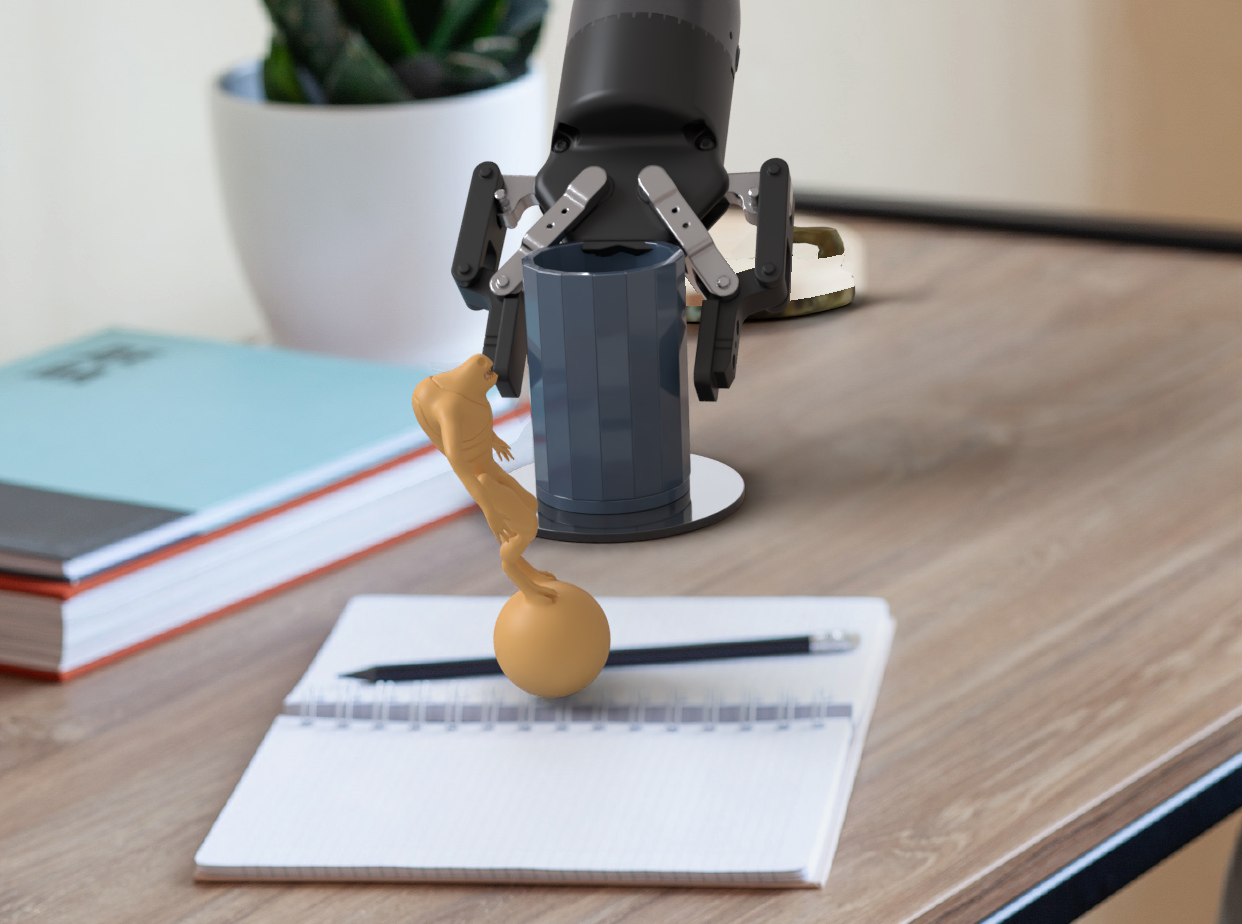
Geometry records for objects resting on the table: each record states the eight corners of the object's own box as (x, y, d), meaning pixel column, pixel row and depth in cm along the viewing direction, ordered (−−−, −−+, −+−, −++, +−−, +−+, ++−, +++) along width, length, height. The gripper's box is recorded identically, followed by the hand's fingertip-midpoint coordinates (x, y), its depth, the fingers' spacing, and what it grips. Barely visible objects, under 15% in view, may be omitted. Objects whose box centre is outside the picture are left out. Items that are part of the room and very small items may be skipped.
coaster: (771, 463, 92) (771, 455, 92) (706, 550, 83) (706, 541, 83) (537, 451, 96) (537, 443, 96) (450, 533, 87) (449, 524, 87)
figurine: (618, 741, 68) (601, 383, 63) (433, 752, 68) (401, 395, 63) (608, 641, 75) (592, 314, 70) (441, 651, 75) (413, 325, 70)
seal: (580, 342, 117) (851, 336, 114) (573, 261, 114) (850, 253, 111) (605, 283, 124) (859, 276, 122) (599, 206, 122) (858, 197, 119)
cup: (707, 468, 91) (701, 239, 87) (665, 519, 86) (657, 277, 81) (564, 460, 93) (552, 236, 89) (514, 509, 88) (498, 273, 84)
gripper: (473, 11, 90) (415, 344, 85) (804, 0, 86) (765, 347, 81) (512, 116, 97) (462, 430, 91) (821, 110, 93) (786, 437, 88)
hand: (604, 391), depth 86 cm, fingers open, 8 cm apart
